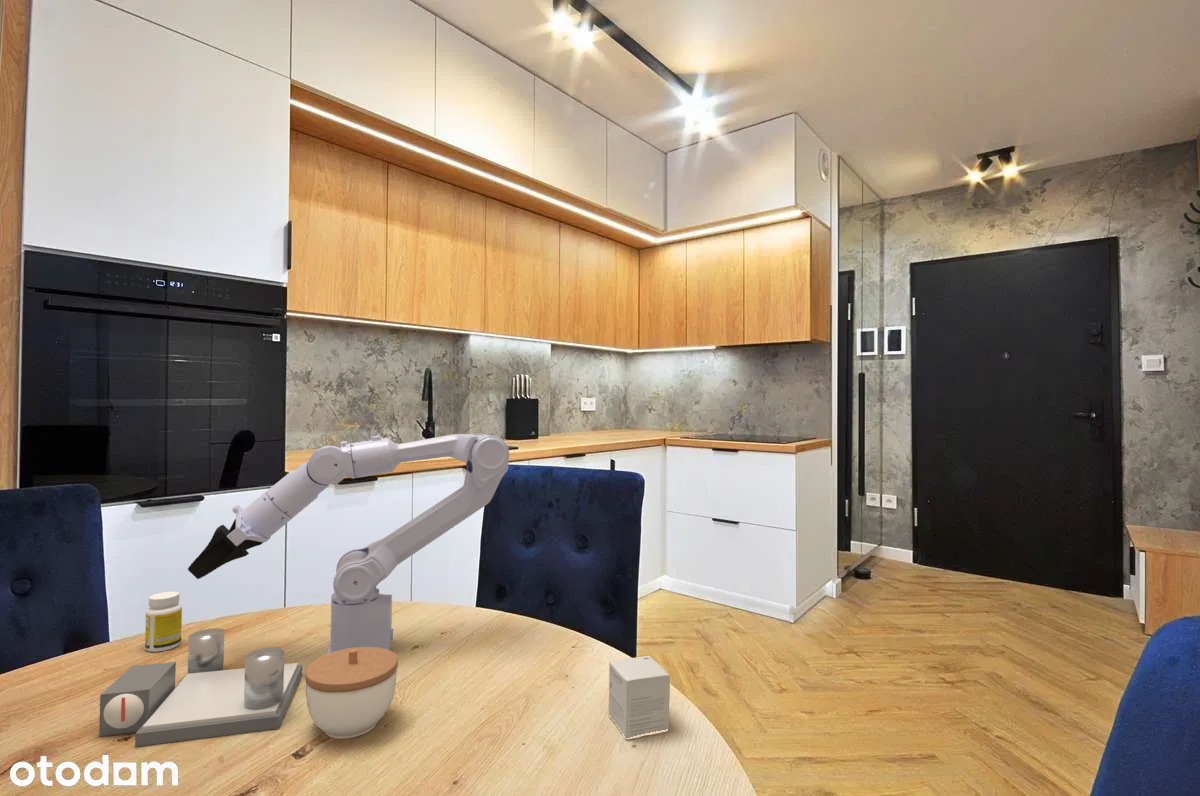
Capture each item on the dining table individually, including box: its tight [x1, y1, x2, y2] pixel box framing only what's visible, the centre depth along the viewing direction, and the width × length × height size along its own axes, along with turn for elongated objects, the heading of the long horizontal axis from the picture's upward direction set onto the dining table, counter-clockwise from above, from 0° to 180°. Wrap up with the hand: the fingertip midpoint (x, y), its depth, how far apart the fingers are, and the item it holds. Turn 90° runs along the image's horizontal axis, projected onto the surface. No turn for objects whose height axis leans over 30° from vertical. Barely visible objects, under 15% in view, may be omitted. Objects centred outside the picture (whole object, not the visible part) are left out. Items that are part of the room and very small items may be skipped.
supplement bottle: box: [144, 590, 183, 653], centre depth 96 cm, size 5×5×8 cm
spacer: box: [187, 628, 225, 674], centre depth 87 cm, size 4×4×6 cm
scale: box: [98, 661, 304, 748], centre depth 77 cm, size 20×15×5 cm
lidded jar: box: [304, 647, 399, 740], centre depth 74 cm, size 11×11×9 cm
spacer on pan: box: [244, 646, 285, 710], centre depth 75 cm, size 4×4×6 cm
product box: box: [608, 655, 671, 738], centre depth 75 cm, size 6×6×7 cm
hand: (202, 568), depth 88 cm, fingers open, 7 cm apart
